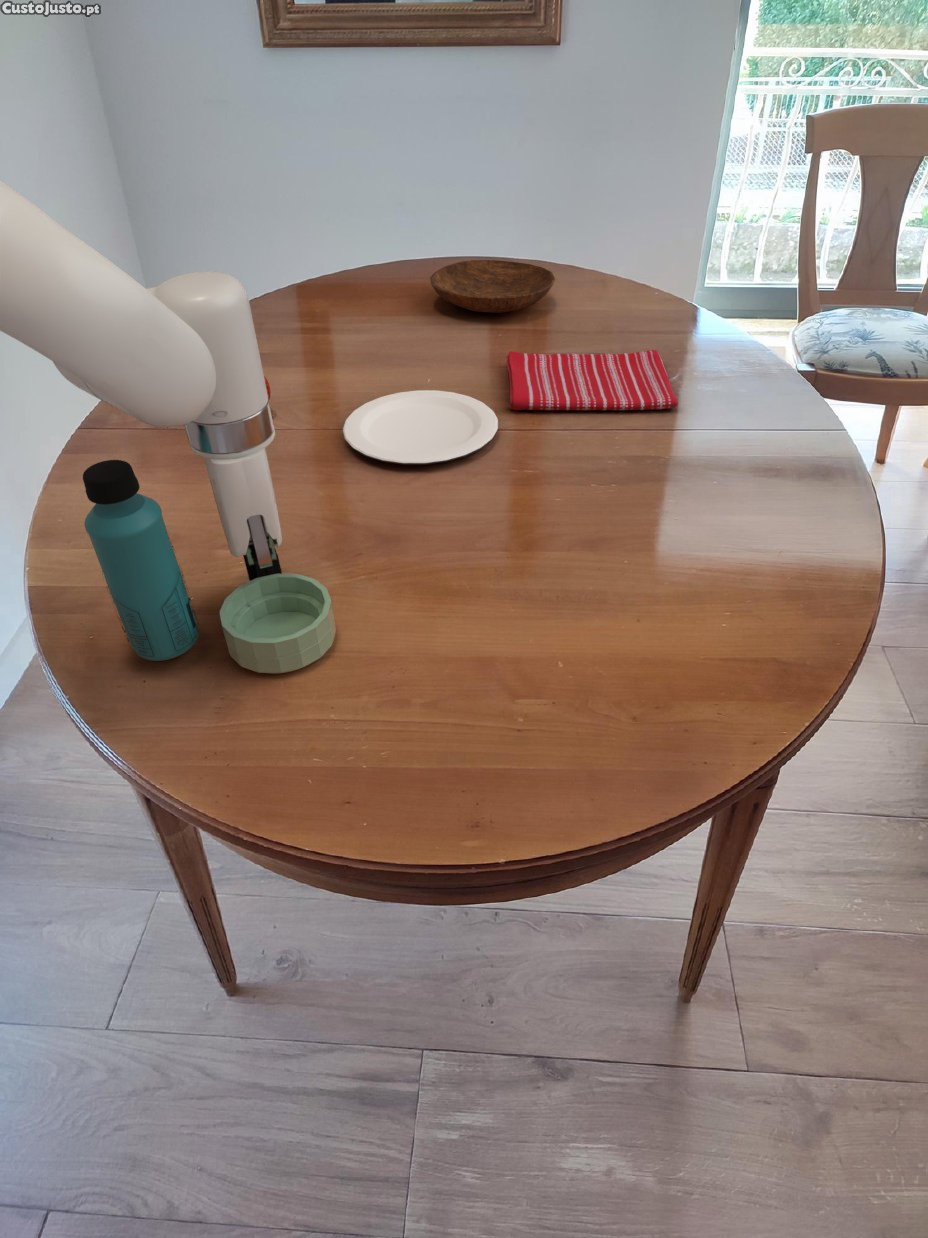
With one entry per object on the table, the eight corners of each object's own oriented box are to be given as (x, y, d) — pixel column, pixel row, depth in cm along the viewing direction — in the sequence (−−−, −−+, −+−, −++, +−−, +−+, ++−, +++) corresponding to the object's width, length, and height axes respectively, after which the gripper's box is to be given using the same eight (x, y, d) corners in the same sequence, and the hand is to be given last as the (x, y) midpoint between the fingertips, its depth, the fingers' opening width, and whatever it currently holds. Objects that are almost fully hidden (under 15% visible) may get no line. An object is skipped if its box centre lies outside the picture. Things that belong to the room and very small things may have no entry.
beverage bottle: (214, 656, 80) (160, 472, 67) (146, 684, 77) (76, 498, 64) (190, 620, 84) (135, 440, 71) (124, 646, 81) (55, 464, 69)
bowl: (457, 281, 160) (457, 254, 157) (568, 294, 153) (569, 266, 150) (412, 317, 146) (410, 288, 143) (531, 333, 139) (532, 303, 136)
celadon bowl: (237, 690, 76) (227, 653, 73) (223, 622, 84) (214, 586, 81) (346, 663, 79) (341, 626, 76) (324, 599, 86) (318, 564, 83)
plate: (415, 387, 125) (415, 376, 123) (529, 426, 114) (529, 415, 113) (311, 441, 112) (309, 429, 111) (427, 491, 102) (427, 478, 101)
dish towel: (506, 364, 130) (506, 347, 128) (660, 363, 129) (662, 346, 127) (506, 414, 117) (506, 397, 115) (677, 413, 116) (680, 395, 114)
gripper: (176, 397, 78) (220, 556, 90) (197, 473, 68) (243, 642, 79) (256, 382, 80) (288, 540, 92) (289, 453, 69) (321, 621, 81)
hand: (267, 586), depth 86 cm, fingers closed
